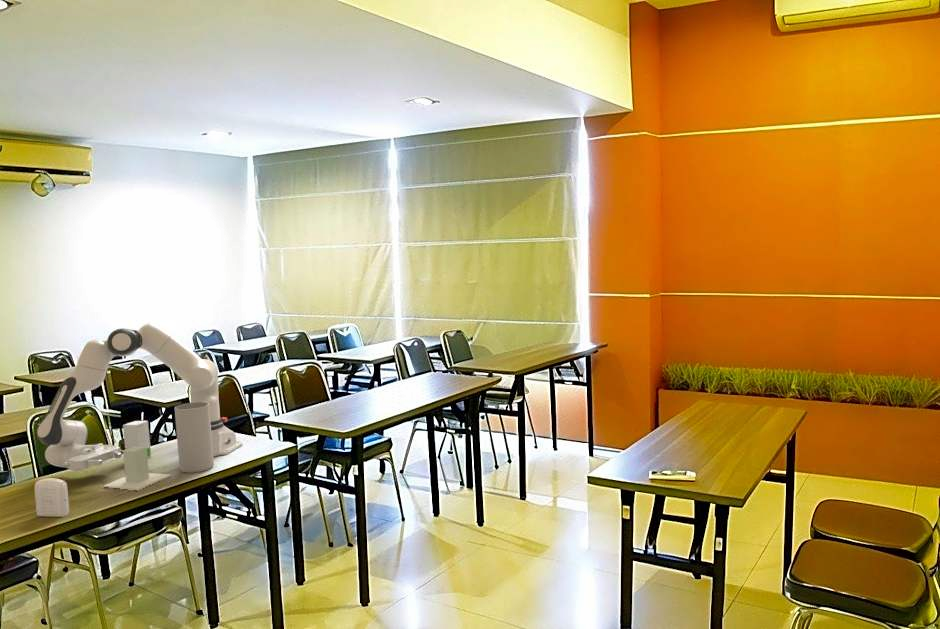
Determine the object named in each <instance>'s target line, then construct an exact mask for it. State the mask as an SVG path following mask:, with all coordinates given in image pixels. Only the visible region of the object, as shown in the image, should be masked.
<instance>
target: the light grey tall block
mask: <svg viewBox="0 0 940 629" xmlns="http://www.w3.org/2000/svg"><path fill="white" fill-rule="evenodd" d="M122 457H123V465H124V475H125V476H124V477H125V478H126V482H133V483H139V482H141V481H144V480H146V479H148V478H149V473H150V472H149V471H150V470H149V462H148V460H149V458H147V447H132V448H129V449H126V450H125V449H124V450H122Z"/></svg>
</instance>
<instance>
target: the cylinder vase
mask: <svg viewBox="0 0 940 629" xmlns="http://www.w3.org/2000/svg"><path fill="white" fill-rule="evenodd" d="M174 417H175V419H174V420H175V429H176V439H177V440H176V441H177V452H178V453H177V454H178V465H179V471H180V472H182V473H185V474H186V473H187V474H194V473H195V474H196V473H202V472H205V471H208V470H210V469H211V468H213V467H214V465H215V463H214V456H213V448H212V436H211V423H210V411H209V403H207V402H193V403H191V402H186V403H182V404H178V405H176V406H174Z"/></svg>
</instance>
